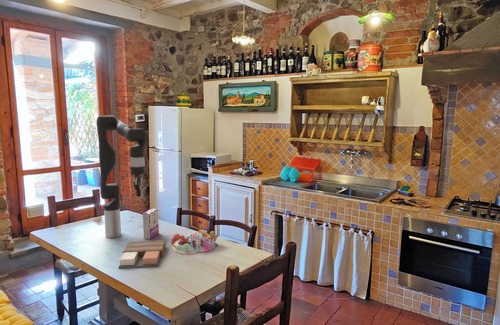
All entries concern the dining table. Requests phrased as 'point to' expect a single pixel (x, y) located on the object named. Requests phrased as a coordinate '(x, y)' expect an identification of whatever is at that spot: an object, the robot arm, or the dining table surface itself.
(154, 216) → the candy bar box
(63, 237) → the dining table surface
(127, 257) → the cream tile
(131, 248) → the walnut board
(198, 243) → the candy landscape model
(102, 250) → the dining table surface
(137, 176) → the robot arm
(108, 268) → the dining table surface
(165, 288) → the dining table surface
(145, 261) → the terracotta tile
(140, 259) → the rubber mat
